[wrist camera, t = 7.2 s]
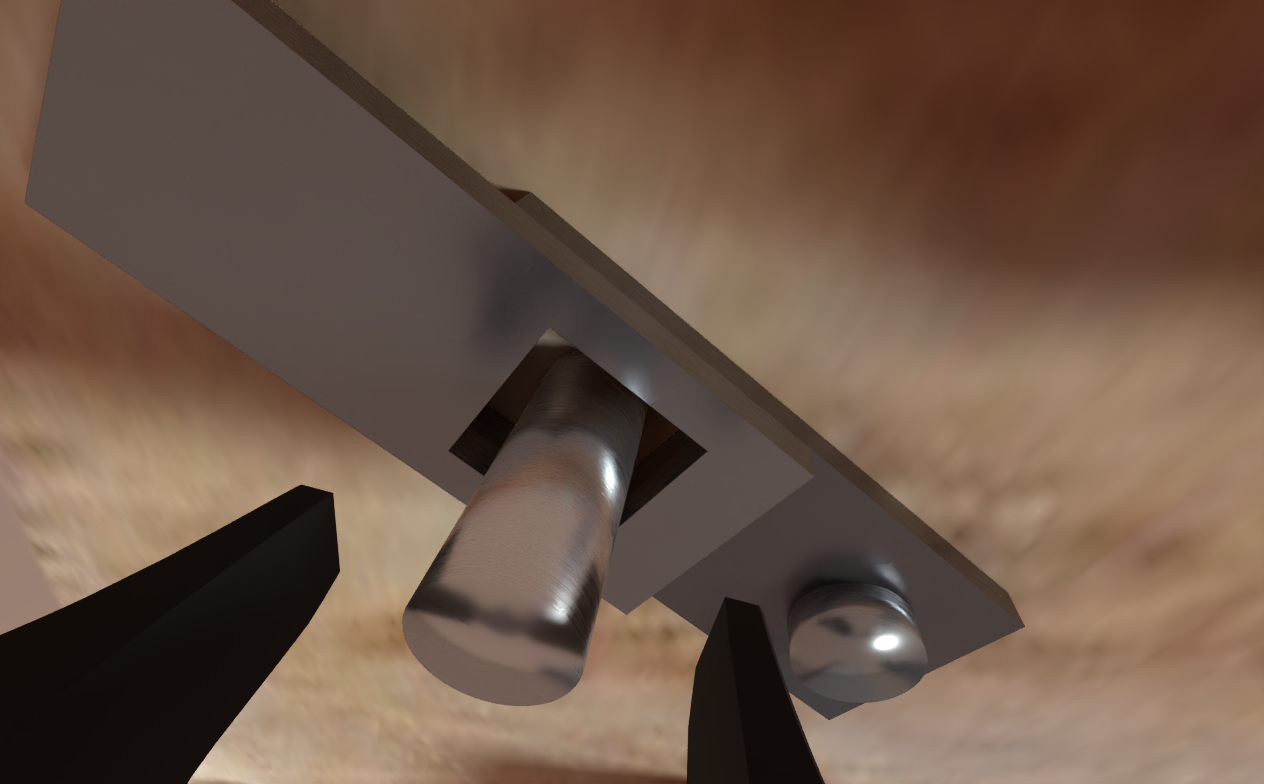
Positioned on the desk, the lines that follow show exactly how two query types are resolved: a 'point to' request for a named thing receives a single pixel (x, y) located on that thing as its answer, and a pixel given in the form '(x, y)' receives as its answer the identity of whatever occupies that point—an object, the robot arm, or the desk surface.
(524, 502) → the steel pin
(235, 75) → the end link upper
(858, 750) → the desk surface
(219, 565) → the robot arm
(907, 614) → the end link lower
